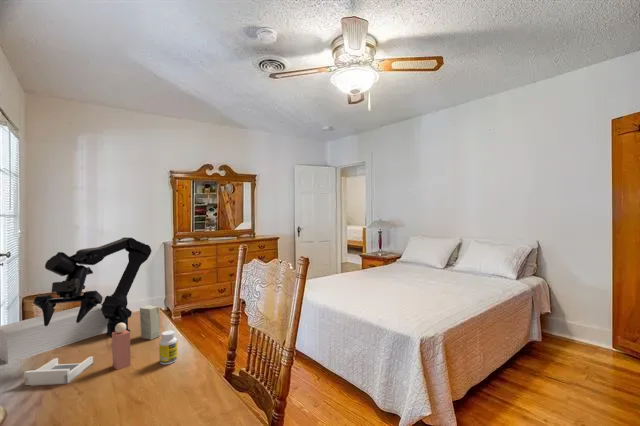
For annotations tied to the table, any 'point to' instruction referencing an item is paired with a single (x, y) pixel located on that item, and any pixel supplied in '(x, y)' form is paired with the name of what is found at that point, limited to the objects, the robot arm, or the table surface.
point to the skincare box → (150, 322)
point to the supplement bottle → (168, 348)
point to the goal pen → (56, 372)
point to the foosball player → (121, 346)
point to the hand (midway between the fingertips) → (61, 324)
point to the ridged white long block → (49, 333)
